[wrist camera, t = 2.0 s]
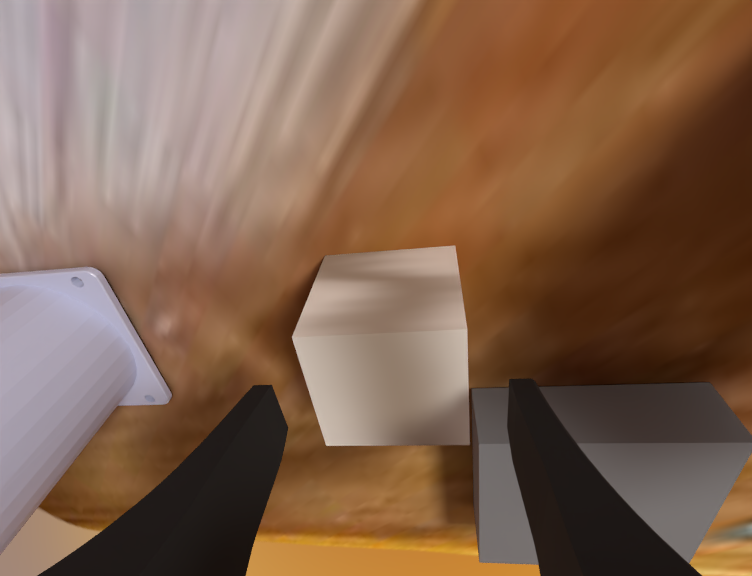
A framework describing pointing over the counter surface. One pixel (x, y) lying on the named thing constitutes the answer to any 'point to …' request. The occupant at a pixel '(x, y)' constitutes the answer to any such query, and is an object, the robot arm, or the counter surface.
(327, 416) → the cube
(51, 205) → the counter surface
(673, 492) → the base
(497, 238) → the counter surface
